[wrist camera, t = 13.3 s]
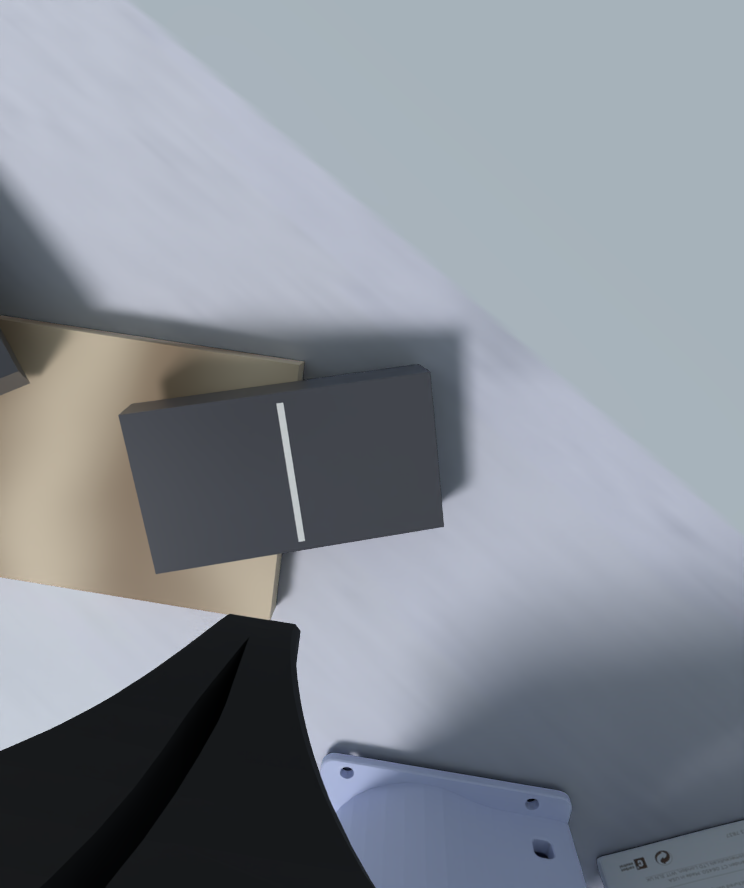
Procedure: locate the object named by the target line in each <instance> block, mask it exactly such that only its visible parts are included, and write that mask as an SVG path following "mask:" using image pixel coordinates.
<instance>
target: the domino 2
mask: <svg viewBox="0 0 744 888" xmlns="http://www.w3.org/2000/svg"><path fill="white" fill-rule="evenodd" d="M118 416H119V421H120V425H121V429H122V433H123V438H124V442H125V446H126V450H127V454H128V459H129V463H130V467H131V471H132V476H133V480H134V484H135V488H136V493H137V497H138V501H139V505H140V510H141V514H142V518H143V522H144V527H145V531H146V535H147V539H148V543H149V548H150V552H151V556H152V560H153V565H154V569H155V573H156V574H161V573H167V572H173V571H179V570H185V569H191V568H197V567H203V566H209V565H215V564H221V563H227V562H233V561H239V560H245V559H251V558H257V557H263V556H270V555H276V554H282V553H288V552H294V551H300V550H306V549H312V548H318V547H324V546H330V545H336V544H342V543H348V542H354V541H360V540H366V539H372V538H378V537H384V536H390V535H397V534H403V533H409V532H415V531H421V530H427V529H433V528H439V527H444V522H443V511H442V500H441V488H440V477H439V466H438V455H437V443H436V432H435V421H434V410H433V398H432V387H431V376H430V371H428V370H427V369H425V368H424V367H422V366H421V365H419V364H417V365H410V366H402V367H395V368H388V369H381V370H373V371H366V372H359V373H351V374H344V375H337V376H330V377H322V378H315V379H308V380H301V381H293V382H286V383H279V384H271V385H264V386H257V387H250V388H242V389H235V390H228V391H220V392H213V393H206V394H199V395H191V396H184V397H177V398H170V399H162V400H155V401H148V402H140V403H133V404H131V405H129V406H128V407H127V408H126V409H125V410H124V411H122V412H121V413H120V414H119V415H118Z"/></svg>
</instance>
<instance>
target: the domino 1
mask: <svg viewBox="0 0 744 888" xmlns="http://www.w3.org/2000/svg"><path fill="white" fill-rule="evenodd" d="M29 383H30V382H29V380H28V378H27V376H26V374H25V373H24V371H23V369H22V367H21V365H20V363H19V362H18V360H17V358H16V356H15V354H14V352H13V351H12V349H11V347H10V345H9V343H8V341H7V340H6V338H5V336H4V334H3V332H2V330H1V328H0V395H3V394H5V393H8V392H10V391H12V390H15V389H17V388H20V387H22V386H25V385H27V384H29Z"/></svg>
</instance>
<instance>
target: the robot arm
mask: <svg viewBox="0 0 744 888" xmlns="http://www.w3.org/2000/svg"><path fill="white" fill-rule="evenodd" d="M299 639H300V630H299V629H298V627H297V626H296V625H295V624H290V623H284V622H278V621H272V620H266V619H260V618H253V617H247V616H241V615H235V614H228V615H227V616H225V617H224V618H223V619H221V620H220V621H218V622H217V623H216V624H214V625H213V626H212V627H211V628H209V629H208V630H207V631H205V632H204V633H203V634H202V635H200V636H199V637H198V638H196V639H195V640H194V641H192V642H191V643H190V644H188V645H187V646H186V647H184V648H183V649H182V650H180V651H179V652H178V653H176V654H175V655H173V656H172V657H171V658H169V659H168V660H166V661H165V662H164V663H162V664H161V665H159V666H158V667H157V668H155V669H154V670H152V671H151V672H149V673H148V674H147V675H145V676H143V677H142V678H140V679H139V680H137V681H136V682H134V683H132V684H131V685H129V686H128V687H126V688H125V689H123V690H122V691H120V692H118V693H117V694H115V695H114V696H112V697H110V698H109V699H107V700H105V701H103V702H102V703H100V704H98V705H96V706H94V707H93V708H91V709H89V710H87V711H85V712H83V713H81V714H79V715H77V716H76V717H74V718H72V719H70V720H68V721H66V722H64V723H62V724H60V725H58V726H56V727H54V728H52V729H50V730H48V731H45V732H43V733H41V734H38V735H36V736H34V737H32V738H29V739H27V740H25V741H22V742H20V743H18V744H15V745H13V746H11V747H9V748H6V749H4V750H2V751H0V888H587V886H586V883H585V879H584V876H583V873H582V869H581V866H580V862H579V859H578V856H577V852H576V849H575V845H574V842H573V839H572V835H571V832H570V829H569V825H568V822H569V819H570V815H571V811H572V804H571V801H570V799H569V796H568V795H567V794H566V793H565V792H562V791H559V790H553V789H547V788H541V787H535V786H529V785H523V784H518V783H512V782H506V781H500V780H494V779H488V778H482V777H476V776H470V775H464V774H458V773H453V772H447V771H441V770H435V769H429V768H423V767H417V766H411V765H405V764H399V763H393V762H388V761H382V760H376V759H370V758H364V757H358V756H352V755H346V754H340V753H330V754H327V755H326V756H325V757H324V758H323V761H322V764H321V770H320V772H319V770H318V767H317V764H316V761H315V758H314V755H313V751H312V748H311V744H310V741H309V737H308V733H307V729H306V725H305V721H304V716H303V711H302V706H301V701H300V694H299V687H298V680H297V669H296V662H297V654H298V647H299ZM344 767H349V768H351V769H352V770H351V771H346V770H344V769H343V768H344ZM533 798H534V799H536V800H534V801H533V802H528V801H527V800H528V799H533Z"/></svg>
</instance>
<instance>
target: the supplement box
mask: <svg viewBox="0 0 744 888" xmlns="http://www.w3.org/2000/svg"><path fill="white" fill-rule="evenodd" d="M597 866H598V870H599V873H600V876H601V879H602V882H603V885H604V888H744V820H742V821H738V822H734V823H730V824H726V825H722V826H717V827H713V828H710V829H706V830H702V831H698V832H694V833H690V834H687V835H683V836H679V837H675V838H671V839H667V840H664V841H660V842H656V843H652V844H648V845H645V846H641V847H637V848H633V849H629V850H626V851H622V852H618V853H614V854H610V855H606V856H602V857H599V858H598V859H597Z"/></svg>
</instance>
